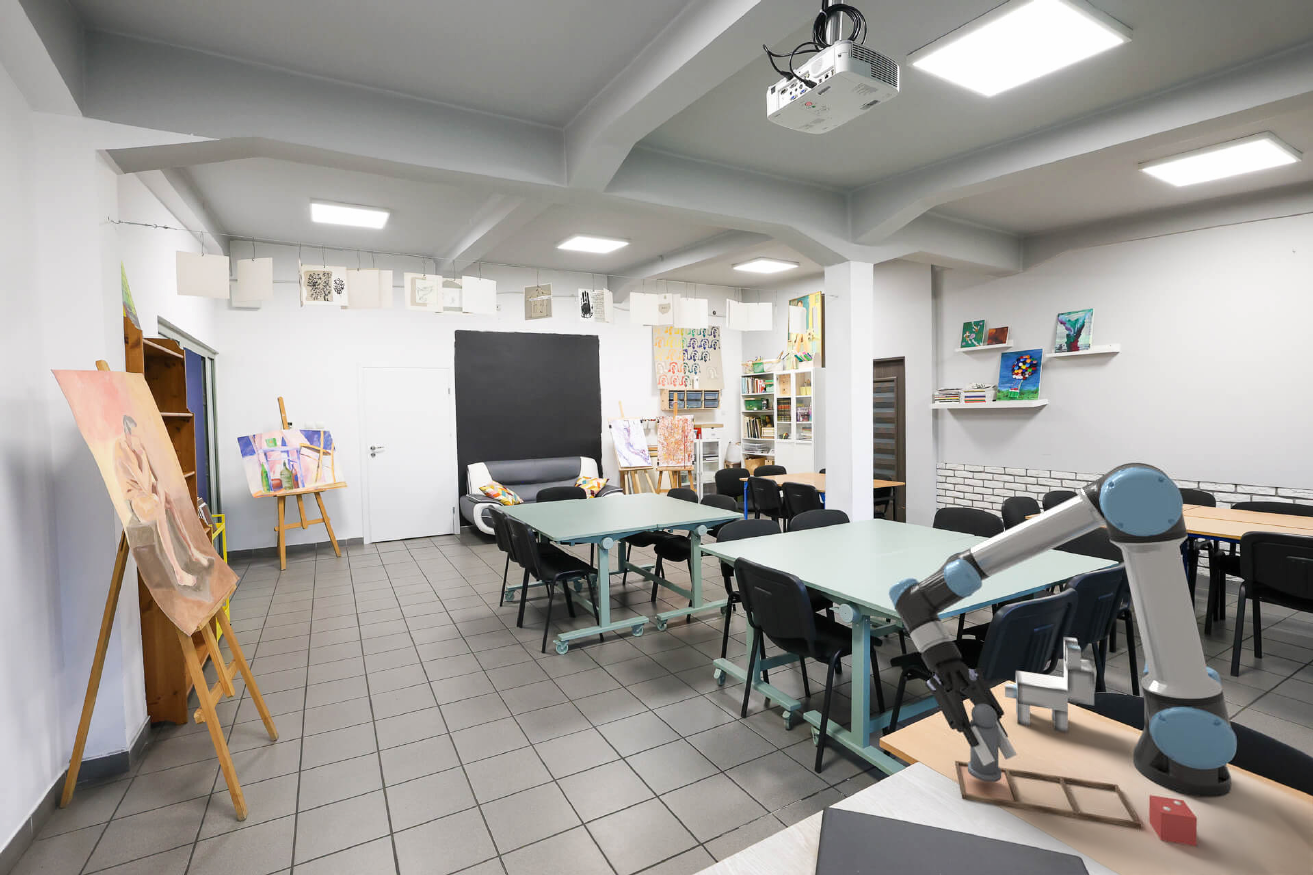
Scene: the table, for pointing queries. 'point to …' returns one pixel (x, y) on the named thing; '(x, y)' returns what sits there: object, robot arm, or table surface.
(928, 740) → the table surface
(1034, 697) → the toy llama
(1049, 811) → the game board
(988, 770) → the pawn
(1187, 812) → the red die
